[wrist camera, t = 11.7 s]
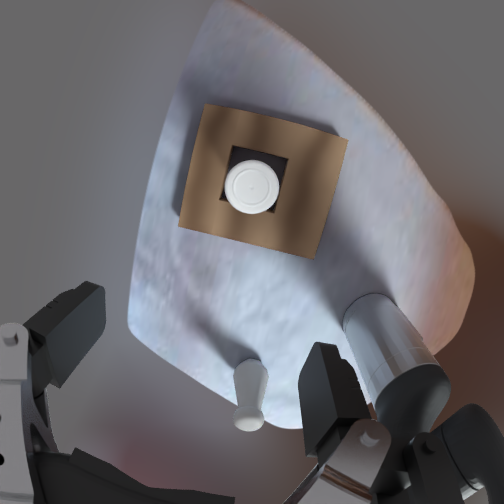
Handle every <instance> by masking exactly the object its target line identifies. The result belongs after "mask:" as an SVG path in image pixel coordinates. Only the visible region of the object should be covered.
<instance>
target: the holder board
mask: <svg viewBox="0 0 504 504" xmlns="http://www.w3.org/2000/svg"><path fill="white" fill-rule="evenodd" d="M347 144H348V140H347V139H345V138H342V137H339V136H336V135H333V134H330V133H327V132H324V131H320V130H317V129H314V128H311V127H307V126H304V125H301V124H297V123H293V122H290V121H286V120H282V119H278V118H274V117H270V116H266V115H262V114H258V113H253V112H248V111H244V110H239V109H234V108H229V107H223V106H217V105H211V104H205V105H204V109H203V113H202V117H201V120H200V124H199V128H198V132H197V136H196V141H195V145H194V149H193V153H192V158H191V162H190V167H189V172H188V176H187V181H186V186H185V191H184V196H183V201H182V207H181V212H180V218H179V224H178V227H183V228H187V229H191V230H195V231H199V232H203V233H207V234H212V235H216V236H220V237H224V238H228V239H232V240H236V241H240V242H244V243H248V244H252V245H256V246H261V247H265V248H269V249H273V250H277V251H281V252H285V253H289V254H293V255H297V256H301V257H305V258H309V259H313V260H314V257H315V254H316V251H317V248H318V245H319V242H320V238H321V235H322V232H323V229H324V226H325V222H326V219H327V216H328V213H329V209H330V206H331V202H332V199H333V195H334V192H335V188H336V185H337V181H338V178H339V174H340V170H341V167H342V163H343V159H344V155H345V151H346V147H347ZM234 146H237V147H241V148H246V149H250V150H254V151H258V152H263V153H267V154H271V155H274V156H278V157H282V158H286V159H287V162H286V165H285V169H284V173H283V177H282V181H281V184H280V188H279V193H278V196H277V200H276V203H275V207H274V210H271V209H267V210H265V211H263V212H261V213H256V214H247V213H243V212H241V211H239V210H237V209H236V208H234V207H233V206H232V205H231V204H230V202H229V201H228V199H226V198H222V194H223V190H224V186H225V180H226V177H227V173H228V169H229V165H230V160H231V156H232V152H233V148H234Z"/></svg>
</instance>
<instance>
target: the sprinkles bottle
mask: <svg viewBox="0 0 504 504" xmlns="http://www.w3.org/2000/svg"><path fill="white" fill-rule="evenodd" d="M278 193H279V182H278V178H277V176H276V174H275V172H274V171H273V169H272V168H271V167H270V166H268V165H267V164H265V163H263V162H261V161H257V160H247V161H243V162H241V163H239V164H237V165H236V166H234V167H233V168H232V169H231V170H230V172H229V173H228V175H227V177H226V180H225V194H226V197H227V199H228V201H229V202H230V204H231V205H232V206H233V207H234V208H236V209H237V210H239V211H241V212H243V213H247V214H256V213H261V212H263V211H265V210H267V209H268V208H270V207H271V206H272V205H273V203H274V202H275V201H276V199H277V196H278Z"/></svg>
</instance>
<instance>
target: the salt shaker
mask: <svg viewBox="0 0 504 504" xmlns="http://www.w3.org/2000/svg"><path fill="white" fill-rule="evenodd" d="M233 377H234V384H235V390H236V396H237V402H238V409H237V410H236V411H235V413H234V416H233V423H234V425H235V426H236V427H238V428H239V429H240V430H244V431H254V430H257V429H259V428H260V427H261V426H262V425H263V422H264V416H263V413H262V411H261V407H262V403H263V399H264V395H265V391H266V387H267V382H268V378H269V376H268V372H267V369H266V368H265V367H264V366H263V365H262V363H261V362H260V360H255V359H250V358H249V359H247V360H245V361H243V362H241V363H240V364H239V365H238V366H237V367H236V368H235V371H234V375H233Z"/></svg>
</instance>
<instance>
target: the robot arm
mask: <svg viewBox="0 0 504 504" xmlns="http://www.w3.org/2000/svg"><path fill="white" fill-rule="evenodd" d="M105 324H106V311H105V289H104V287H102V286H99V285H97V284H94V283H91V282H88V281H85V282H84V283H82V284H81V285H79V286H78V287H77V288H76V289H71V290H68V291H65V292H63V293H61V294H59V295H58V296H57V297H56V298H54V299H53V301H51V302H50V303H48V304H47V305H46V307H43V308H42V309H41V310H40V311H38V312H37V313H36V314H35V315H34V316H32V317H31V318H30V319H29V320H28V321H27V322H25V323H24V324H23V325H21V324H17V323H6V324H3V325H1V326H0V504H234V502H235V497H228V496H222V495H216V494H210V493H205V492H200V491H195V490H177V489H160V488H151V487H147V486H145V485H143V484H141V483H139V482H138V481H136V480H135V479H133V478H131V477H129V476H128V475H126V474H125V473H123V472H122V471H120V470H119V469H117V468H116V467H114V466H113V465H111V464H110V463H107V462H105V461H102V460H100V459H98V458H96V457H94V456H92V455H90V454H88V453H86V452H84V451H81V450H79V449H78V448H75V449H74V451H73V453H72V455H70V454H65V453H59V450H58V447H57V444H56V442H55V440H54V436H53V433H52V428H51V421H50V414H49V406H48V398H47V391H46V387H47V385H48V384H49V383H51V384H52V385H54V386H56V387H58V388H61V386H62V385H63V384H64V382H65V381H66V380H67V378H68V377H69V376H70V374H71V373H72V372H73V370H74V369H75V368H76V366H77V365H78V364H79V363H80V361H81V360H82V359H83V358H84V356H85V355H86V354H87V353H88V351H89V350H90V349H91V347H92V346H93V345H94V344H95V342H96V341H97V340H98V339H99V338H100V336H101V335H102V333H103V331H104V329H105ZM342 325H343V330H344V333H345V335H346V338H347V340H348V342H349V345H350V348H351V350H352V352H353V355H354V357H355V360H356V362H357V365H358V367H359V370H360V373H361V375H362V378H363V380H364V383H365V385H366V388H367V391H368V393H369V396H370V398H371V401H372V404H373V406H374V409H375V412H376V415H377V421H376V420H373V419H372V418H371V415H370V412H369V409H368V406H367V403H366V401H365V398H364V395H363V392H362V390H360V389H361V387H360V384H359V381H357V380H358V378H357V376H356V373H355V370H354V368H353V367H352V366H351V365H350V364H349V363H348V361H347V360H346V359H341V357H340V354H339V351H338V348H337V346H336V345H334V344H327V343H321V342H315V343H314V345H313V347H312V349H311V351H310V353H309V355H308V357H307V360H306V362H305V364H304V366H303V368H302V370H301V372H300V375H299V380H298V391H299V399H300V407H301V416H302V425H303V434H304V443H305V453H306V457H317V458H318V464H317V465H316V466H315V467H314V469H313V470H312V471H311V472H310V473H309V475H308V476H307V477H306V478H305V480H304V481H303V482H302V483H301V484H300V485H299V486H298V488H297V489H296V490H295V491H294V492H293V493H292V494H291V495H290V497H289V498H288V499H287V500H286V501H285V502H284V503H283V504H464V499H466V498H468V497H469V496H471V495H472V494H474V492H477V491H478V490H479V489H481V488H482V487H484V486H485V488H486V491H487V495H488V501H489V504H504V437H503V435H502V433H501V432H500V430H499V428H498V426H497V425H496V423H495V422H494V420H493V419H492V418H491V417H490V415H489V414H488V413H487V412H486V411H485V410H484V409H483V408H482V407H481V406H479V405H477V404H472V403H470V404H467V405H465V406H464V407H462V408H461V409H459V410H458V411H457V412H456V413H455V414H453V415H452V416H451V417H450V418H448V419H447V420H446V421H445V422H443V423H442V424H441V425H440V426H438V427H437V428H436V429H435V430H433V431H432V432H431V433H429V431H430V428H431V427H432V425H433V423H434V421H435V420H436V418H437V417H438V415H439V414H440V412H441V411H442V409H443V407H444V406H445V404H446V403H447V401H448V399H449V396H450V392H451V384H450V380H449V378H448V376H447V375H446V373H445V372H444V370H443V369H442V368H441V367H440V365H439V364H438V362H437V361H436V359H435V358H434V357H433V355H432V354H431V352H430V351H429V350H428V348H427V347H426V346H425V344H424V343H423V338H422V337H421V335H420V334H419V333H418V331H417V330H416V329H415V327H414V326H413V325H412V324H411V322H410V321H409V320H408V318H407V317H406V316H405V315H404V313H403V312H402V311H401V310H400V308H399V307H397V306H395V305H394V304H393V302H392V301H391V300H390V299H389V298H388V297H386V296H385V295H382V294H368V295H365V296H363V297H361V298H359V299H357V300H356V301H355V302H354V303H352V304H351V306H350V307H349V308H348V309H347V311H346V313H345V315H344V318H343V324H342Z"/></svg>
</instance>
